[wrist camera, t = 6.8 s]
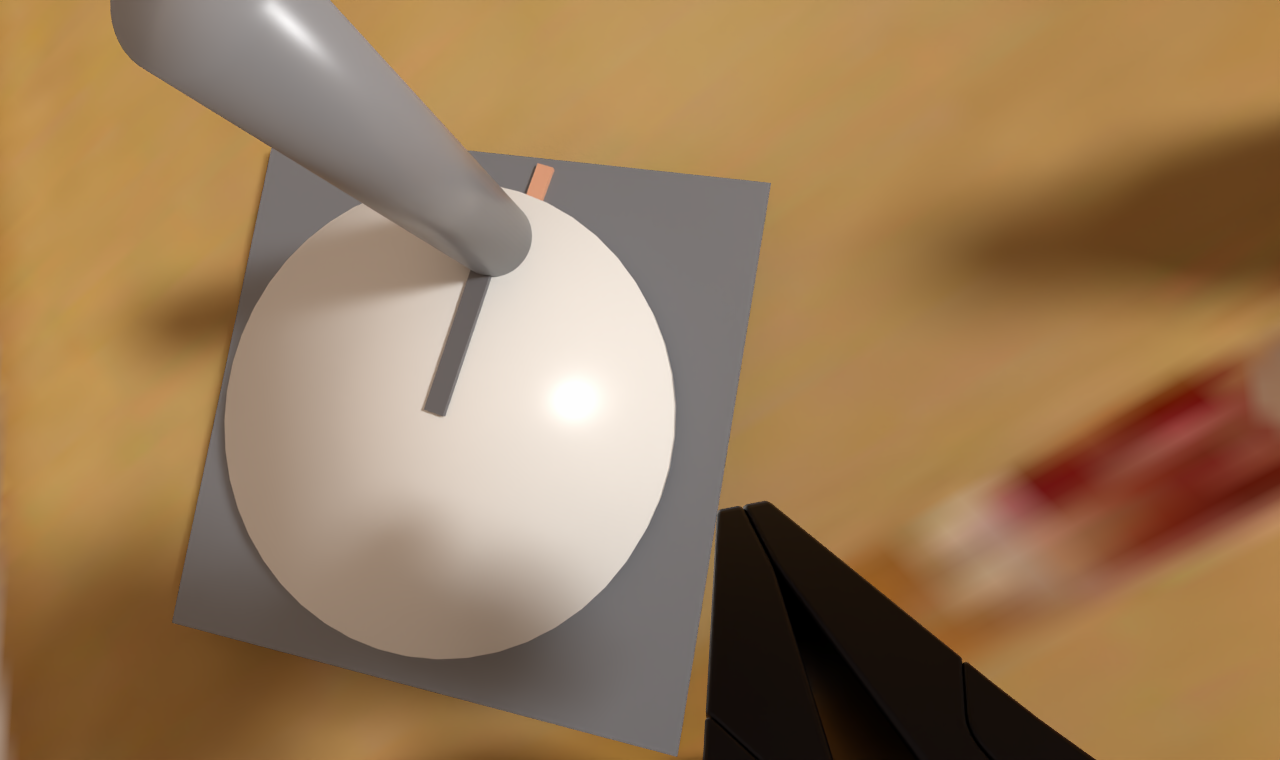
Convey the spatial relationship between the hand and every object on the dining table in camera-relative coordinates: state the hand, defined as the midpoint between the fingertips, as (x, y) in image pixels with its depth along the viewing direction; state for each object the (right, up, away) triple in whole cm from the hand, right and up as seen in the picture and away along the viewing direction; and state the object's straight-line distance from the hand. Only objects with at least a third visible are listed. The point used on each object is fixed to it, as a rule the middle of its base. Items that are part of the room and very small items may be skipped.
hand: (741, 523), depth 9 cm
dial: (-9, +1, +13) cm, 16 cm away
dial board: (-9, +1, +15) cm, 17 cm away
